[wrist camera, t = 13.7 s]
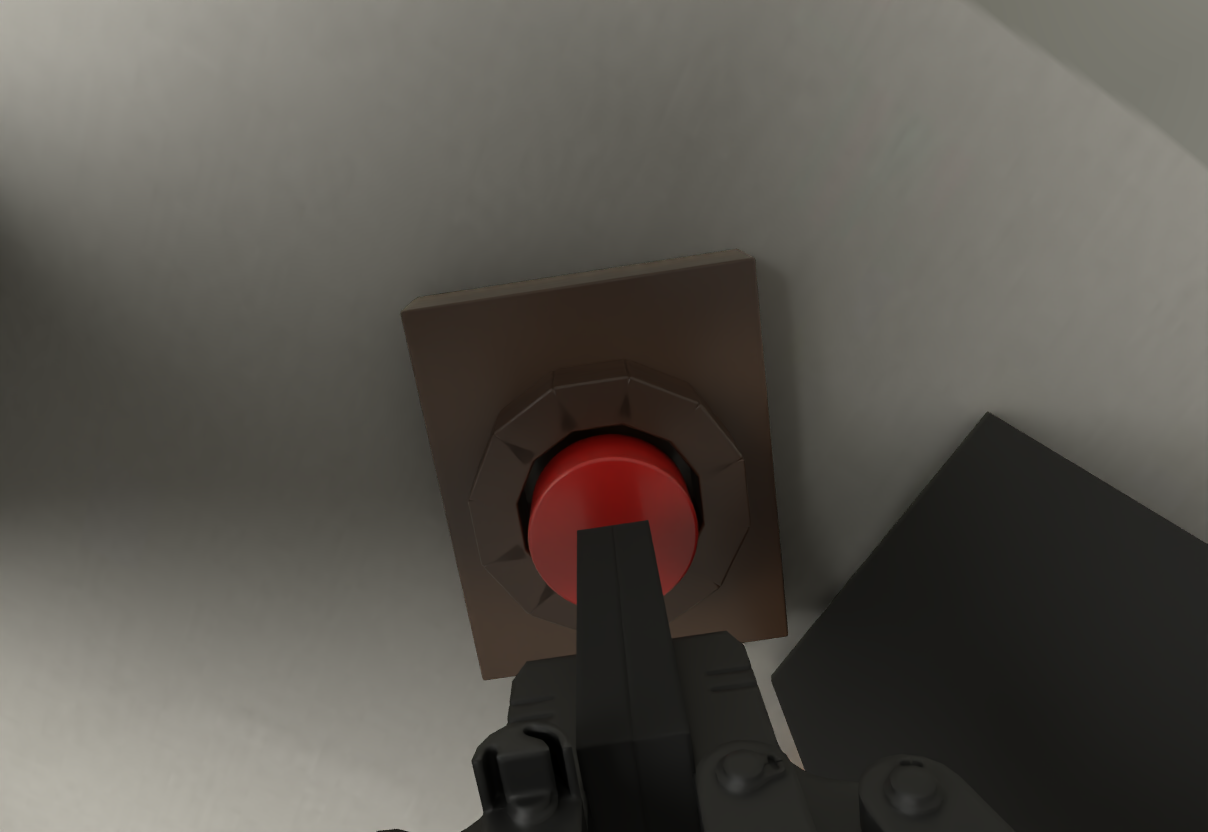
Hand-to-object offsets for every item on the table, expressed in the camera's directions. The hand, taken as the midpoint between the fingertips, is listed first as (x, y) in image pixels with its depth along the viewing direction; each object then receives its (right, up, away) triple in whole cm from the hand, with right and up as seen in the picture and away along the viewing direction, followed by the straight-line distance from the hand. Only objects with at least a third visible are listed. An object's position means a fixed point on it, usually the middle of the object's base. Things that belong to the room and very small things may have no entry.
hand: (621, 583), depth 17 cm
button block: (0, +2, +7) cm, 7 cm away
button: (0, +1, +4) cm, 4 cm away
